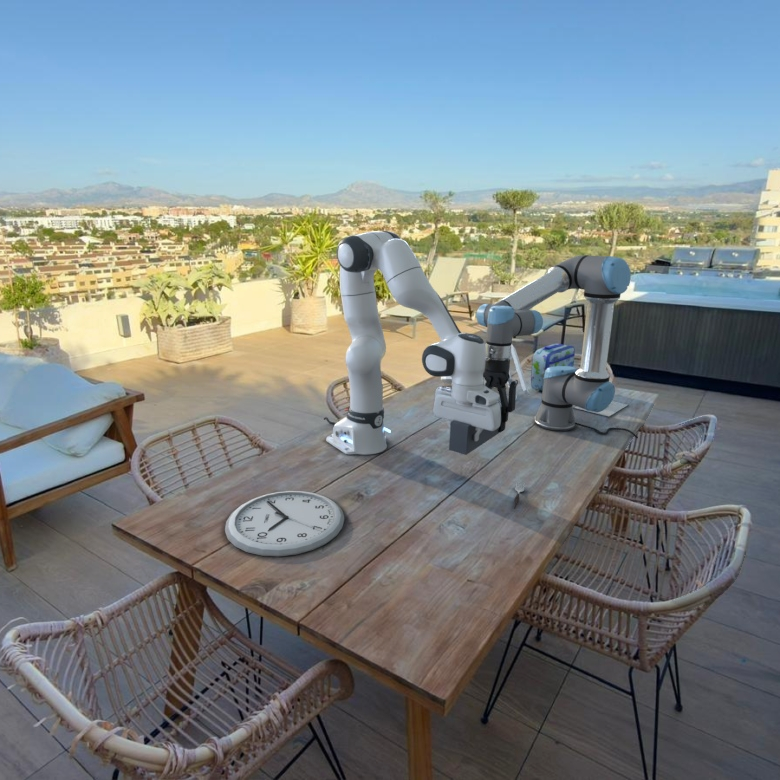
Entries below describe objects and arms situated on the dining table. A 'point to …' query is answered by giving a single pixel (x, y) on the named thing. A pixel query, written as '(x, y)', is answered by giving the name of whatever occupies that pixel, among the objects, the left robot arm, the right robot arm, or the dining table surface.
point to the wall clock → (284, 523)
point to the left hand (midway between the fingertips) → (464, 437)
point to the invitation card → (608, 409)
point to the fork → (518, 489)
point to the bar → (467, 436)
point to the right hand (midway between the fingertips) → (492, 428)
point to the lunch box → (550, 361)
